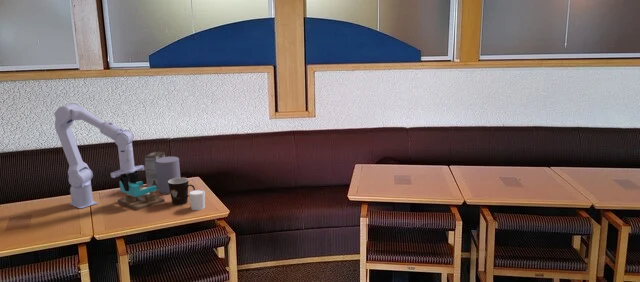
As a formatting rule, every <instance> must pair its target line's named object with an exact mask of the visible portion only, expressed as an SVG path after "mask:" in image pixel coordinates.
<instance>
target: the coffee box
mask: <svg viewBox="0 0 640 282" xmlns="http://www.w3.org/2000/svg"><path fill="white" fill-rule="evenodd" d="M162 157H166V152H165V151H152V152H150V153H148V154H146V155H144V156H143V161H144V162H143V163H144V169H145V170H144V171H145V178H146V187H152V186H157V190H158V181H157V170H156V159H158V158H162Z"/></svg>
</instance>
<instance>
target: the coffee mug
mask: <svg viewBox="0 0 640 282" xmlns="http://www.w3.org/2000/svg"><path fill="white" fill-rule="evenodd" d="M168 185H169V189H170V197H171V203H172V205H174V206H182V205H186V204H187V203H188V202H189V200H188V199H189V187H192V188H193V190H196V188H195V186H194V185H193V184H191V183H190V184H189V178H187V177H180V178H174V179H171V180H169V181H168Z"/></svg>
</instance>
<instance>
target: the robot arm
mask: <svg viewBox="0 0 640 282" xmlns="http://www.w3.org/2000/svg"><path fill="white" fill-rule="evenodd" d="M53 114H54V117H55V120H54V129H55V132H56V134H57V136H58V139H59V142H60V144H61V147H62V150H63V152H64V156H65V157H66V160H67V163H68V165H69V167H68V170H67V176H68V180H67V181H68V182H69V185H71V186H70V189H69V193H70V199H71V202H70V203H69V205H70V206H74V207H76V208H77V209H80V210H81V209H84V208H86V207H90V206H94V205H98V201H95V200H94V198H93V189H92V182H91V180H92V179H93V177H94V174H93V170H92V169H90V167H89V165H88V164H87V163H86V162H84V161H83V159H82V155H81V153H80V150H79V148H78V144H77V143H76V140H75V137H74V134H73V131H72V129H71V126H72V125H73V123H74V122H75V121H80V120H81V121H83V122H86V123H88V124H89V125H92V126H94V127H95V128H97V129H99V133H101V134H102V135H104V136H106V137H107V138H109V139H111V140H113V141H114V144H115V145H116V146H117V149H118V150H117V151H118V158H119V169H118V170H115V171H113V172H110V177H111V178H113V179H115V178H118V179H119V182H120V181H121V182H122V184H123V186H124V189H125V191H129V186H128V182H131V183H134V184H136V182H138V181H137V180H138V179H139V178H138V177H139V176H140V172H139V171H145V165H143V164H141V165H140V164H139V165H135V159H134V150H133V141H134V137H135V136H134V134H133V132H132V131H131V130H130V129H124V128H122V127H119V126H117V125H116V124H114V122H113V121H110V120H109V121H103V120H102V119H101V118H99V117H98V116H96V115H95V114H93V113H91V112H90V111H88V110H87V109H86V108H85V107H84V106H82V105H80V104H78V103H77V102H72V103H71V102H70V103H69V104H66V105H62V106H58V108H56V110H55V111H54V113H53Z"/></svg>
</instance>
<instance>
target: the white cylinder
mask: <svg viewBox="0 0 640 282" xmlns="http://www.w3.org/2000/svg"><path fill="white" fill-rule="evenodd" d="M188 195H189V197H188V199H189V203H190V209H191V210H192V211H202V210H203V209H205V207H206V190H204V189H195V190H194V189H193V190H190V191H188Z"/></svg>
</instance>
